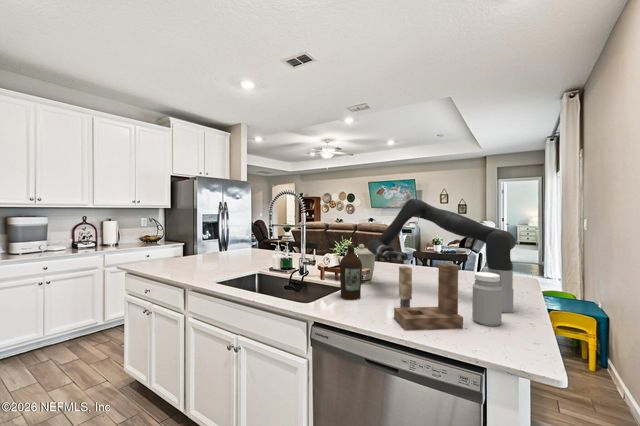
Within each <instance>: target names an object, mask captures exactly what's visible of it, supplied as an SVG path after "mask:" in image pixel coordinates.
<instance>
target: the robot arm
mask: <svg viewBox="0 0 640 426" xmlns="http://www.w3.org/2000/svg"><path fill="white" fill-rule="evenodd" d="M412 218H419V219H423V220H426V221H429V222H432V223H433V224H435V225H436V226H438V227H439V228H441V229H443V230H445V231H447V232H449V233H451V234H454V235H456V236H460V237H464V238H469V239H473V240H477V241H480V242H482V243H485V260H486V263H487V267H488V273H495V274H498V275H499V276H500V281H498V282H499V283H500V285H499V286H500V287H501V289H502V313H504V314H505V313H508V314H509V313H510V314H511V313H514V288H513V287H514V286H513V284H514V283H513V281H514V277H513V276H514V275H513V274H514V272H513V271H514V264H513V262H512V258H511V250H513V249H514V248H515V246H516V244H517V243H516V241H517V240H516V238H515V236H514V235H513V234H512V233H511V232H509V231H507V230H504V229H500V228H495V227H492V226H488V225H485V224H483V223H480V222H478V221H476V220H473V219H472V218H469V217H467V216H464V215H462V214H459V213H456V212H453V211H450V210H446V209H441V208H438V207H435V206H433V205H431V204H429V203H427V202H425V201H423V200H421V199H417V198H410V199H408V200H407V201H406V202H405V203H404V205H403V206H402V207H401V209H400V210H399V212H398V213H397V215H396V216H395V218H394V219H393V221H392V222H391V223H390V224H389V226H388V227H387V228H386V229H385V230H384V231H383V232H382V233H381V234H380V235H379V239H380V242H379V240H376V239H372V240H370V241H369V242H368V244H367V249H368V250H369V251H370V252H372V253H373V254H374V255H375V259H377V260H382V261H384V262H387V263H389V262H392V261H393V260H398V261H399V260H403V261H407V260H409V259H408V255H409V254H408V253H406V252H403V251H401V252H399V251H396V250H395V249H394V248H393V247H392V246H390V245H391V244H392V243H393V242H394V241H395V240H396V238H398V236H399V235H400V233H401V231H402V229H403V227H404V226H405V224H406V223H407V222H408V221H410V220H411V219H412ZM381 242H382V243H381Z"/></svg>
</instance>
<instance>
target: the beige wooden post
mask: <svg viewBox="0 0 640 426" xmlns="http://www.w3.org/2000/svg"><path fill="white" fill-rule="evenodd" d="M412 284H413V268H412V267H411V266H408V265H399V267H398V298H400V299H399V300H400V301H399V303H400V304H399V306H400V307H399V308H407V307H411V300H412V296H413V292H412V291H413V285H412Z"/></svg>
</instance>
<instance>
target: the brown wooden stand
mask: <svg viewBox="0 0 640 426" xmlns="http://www.w3.org/2000/svg"><path fill="white" fill-rule="evenodd" d="M436 269H438V274H437V275H438V284H437V285H438V286H437V287H438V288H437V289H438V294H437V295H438V296H437V297H438V298H437V301H438V302H437V303H438V304H437V306H417V307H413V306H410V307H407V308H400V307H394V308H393V313H394V314H393V318H394V320H395V321H396V322H397V323H398V325H400V326H401V327H402V328H403V329H404V331H420V330H421V331H423V330H424V329H428V330H454V329H458V330H459V329H464V317H463V316H462V315H460V314H459V313H458V312H459V311H458V310H459V308H458V307H459V305H458V304H459V271H461V265H458V264H456V263H452V262H449V263H448V262H445V263H444V262H443V263H442V262H440V263H439V262H438V263H436Z"/></svg>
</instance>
